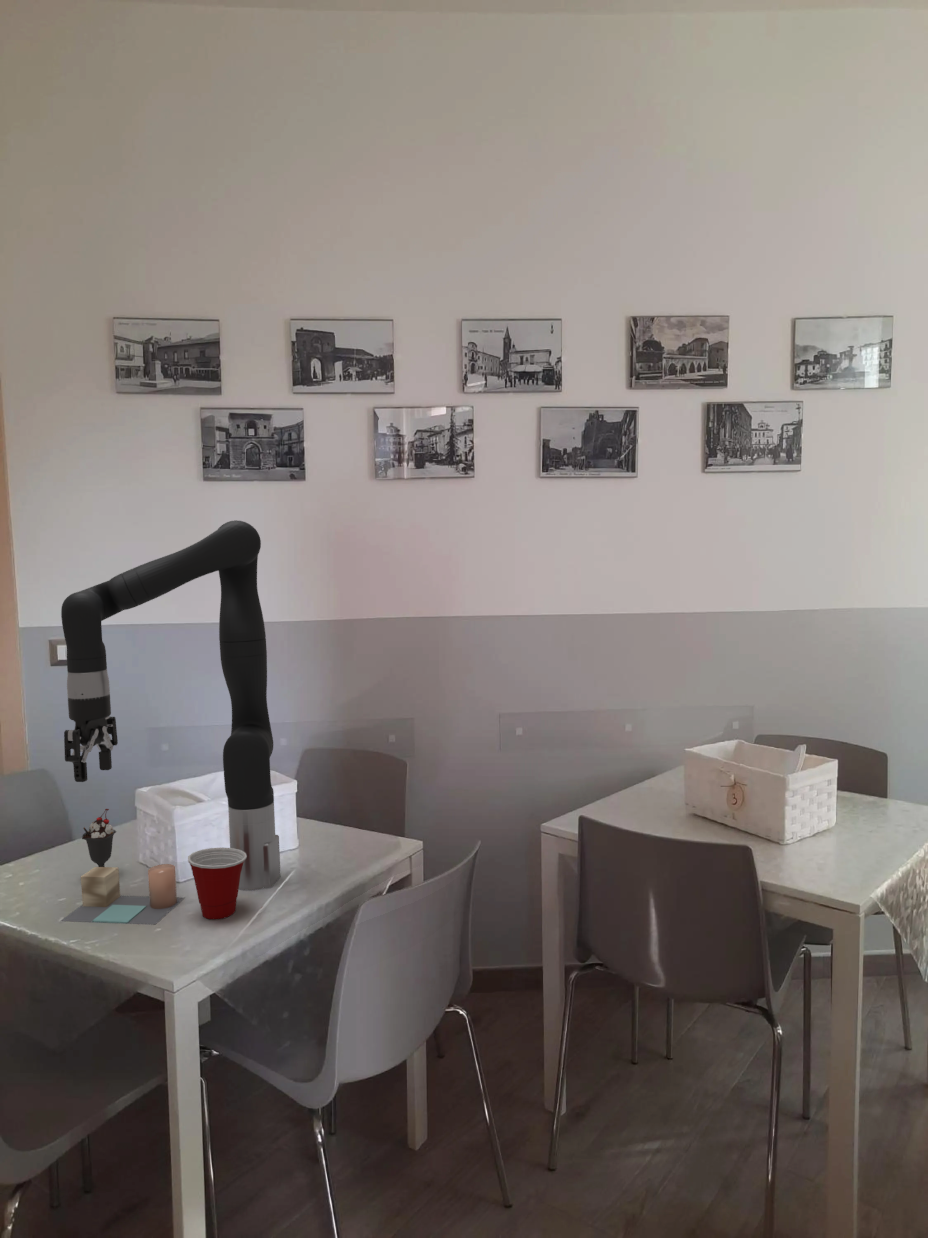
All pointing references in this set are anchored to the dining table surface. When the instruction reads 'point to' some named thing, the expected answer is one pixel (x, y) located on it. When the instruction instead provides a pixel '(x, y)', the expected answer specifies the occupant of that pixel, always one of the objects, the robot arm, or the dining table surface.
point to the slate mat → (144, 917)
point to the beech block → (100, 886)
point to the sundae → (99, 840)
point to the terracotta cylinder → (162, 886)
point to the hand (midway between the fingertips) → (93, 775)
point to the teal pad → (119, 914)
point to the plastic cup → (217, 880)
